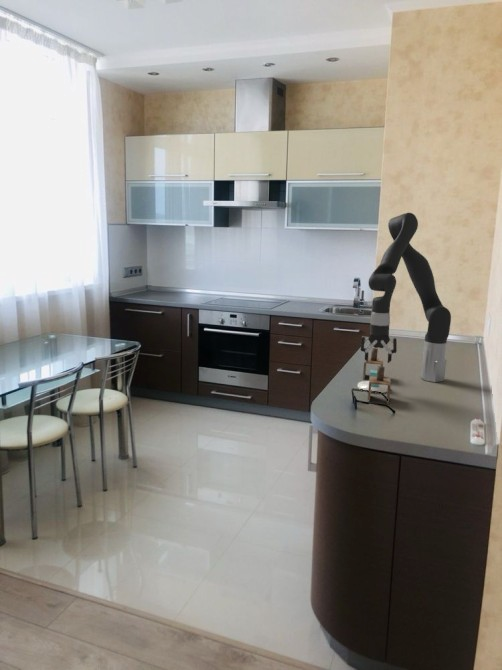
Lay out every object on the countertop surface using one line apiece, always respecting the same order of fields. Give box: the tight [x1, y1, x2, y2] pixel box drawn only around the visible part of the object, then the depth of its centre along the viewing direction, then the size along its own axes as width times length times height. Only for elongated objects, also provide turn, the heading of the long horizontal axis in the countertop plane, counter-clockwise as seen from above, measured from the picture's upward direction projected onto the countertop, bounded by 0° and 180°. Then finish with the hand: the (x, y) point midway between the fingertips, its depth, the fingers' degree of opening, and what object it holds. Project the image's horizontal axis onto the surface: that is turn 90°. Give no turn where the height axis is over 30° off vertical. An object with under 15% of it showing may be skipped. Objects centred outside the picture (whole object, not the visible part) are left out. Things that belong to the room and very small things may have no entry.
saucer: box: [357, 380, 388, 394], centre depth 230 cm, size 13×13×1 cm
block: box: [368, 369, 379, 387], centre depth 230 cm, size 4×4×6 cm
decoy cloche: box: [367, 365, 392, 405], centre depth 215 cm, size 8×8×13 cm
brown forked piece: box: [362, 347, 384, 381], centre depth 244 cm, size 8×8×13 cm
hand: (377, 361), depth 227 cm, fingers open, 8 cm apart
